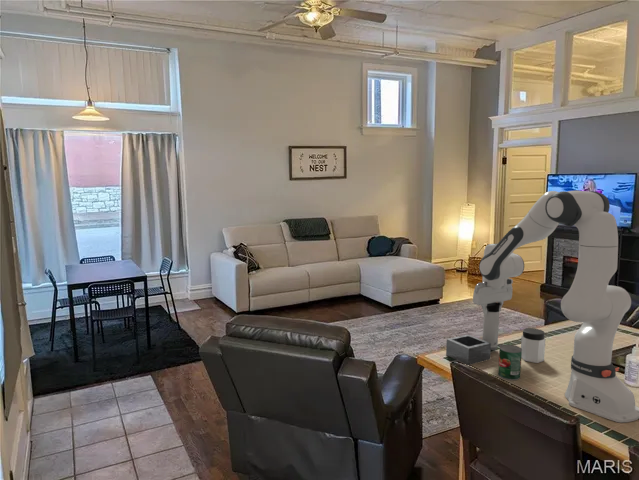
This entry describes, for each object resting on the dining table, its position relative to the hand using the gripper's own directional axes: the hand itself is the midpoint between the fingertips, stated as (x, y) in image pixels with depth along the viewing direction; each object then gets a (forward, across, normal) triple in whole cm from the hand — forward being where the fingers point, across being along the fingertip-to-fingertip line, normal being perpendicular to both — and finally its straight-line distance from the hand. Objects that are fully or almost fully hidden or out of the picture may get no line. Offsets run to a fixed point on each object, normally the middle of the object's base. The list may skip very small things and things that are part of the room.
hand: (491, 312), depth 201 cm
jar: (+18, +8, -15) cm, 24 cm away
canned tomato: (+18, -14, -22) cm, 31 cm away
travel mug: (+16, 0, 0) cm, 16 cm away
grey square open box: (+17, -14, -1) cm, 22 cm away
